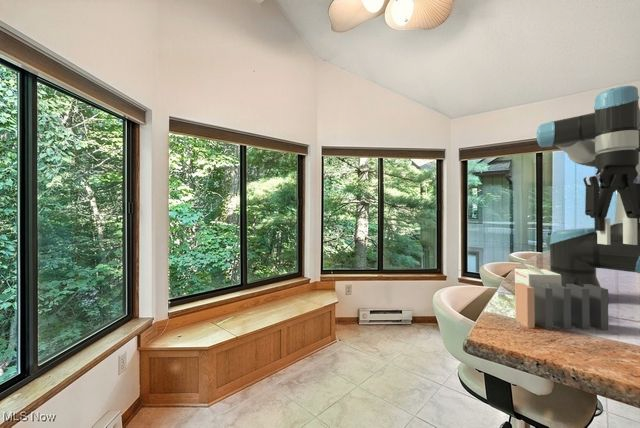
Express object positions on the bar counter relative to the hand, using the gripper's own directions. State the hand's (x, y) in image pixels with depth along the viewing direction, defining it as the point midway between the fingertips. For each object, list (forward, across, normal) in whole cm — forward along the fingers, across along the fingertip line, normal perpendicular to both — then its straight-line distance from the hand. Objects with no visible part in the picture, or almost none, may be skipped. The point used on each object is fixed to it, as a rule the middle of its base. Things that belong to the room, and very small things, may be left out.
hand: (616, 243), depth 69 cm
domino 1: (+21, +22, 0) cm, 30 cm away
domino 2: (+21, +18, 0) cm, 27 cm away
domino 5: (+21, +5, 0) cm, 21 cm away
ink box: (+21, +12, -11) cm, 26 cm away
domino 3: (+21, +13, 0) cm, 25 cm away
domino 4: (+21, +9, 0) cm, 23 cm away
